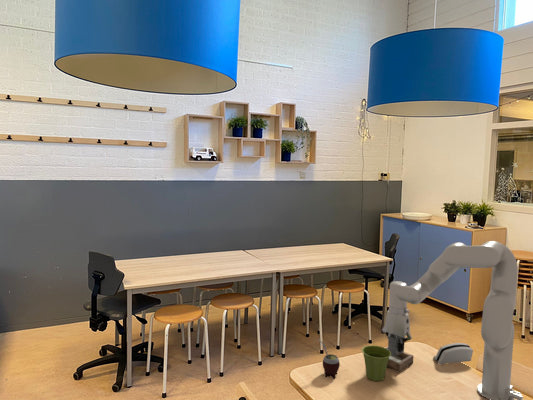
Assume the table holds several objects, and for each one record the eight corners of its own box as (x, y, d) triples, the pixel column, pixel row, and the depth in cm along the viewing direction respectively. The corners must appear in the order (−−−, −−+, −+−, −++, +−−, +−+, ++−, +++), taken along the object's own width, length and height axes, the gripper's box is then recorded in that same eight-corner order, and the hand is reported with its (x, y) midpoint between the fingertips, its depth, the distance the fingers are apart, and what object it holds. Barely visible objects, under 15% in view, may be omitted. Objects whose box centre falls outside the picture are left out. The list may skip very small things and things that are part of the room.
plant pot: (391, 386, 162) (392, 359, 161) (361, 382, 164) (362, 356, 163) (388, 371, 173) (389, 346, 172) (360, 368, 176) (361, 343, 175)
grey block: (403, 352, 181) (404, 334, 180) (396, 356, 176) (396, 339, 176) (391, 347, 185) (392, 330, 185) (383, 352, 181) (384, 335, 180)
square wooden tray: (413, 363, 181) (413, 355, 181) (399, 372, 172) (399, 364, 172) (388, 353, 190) (388, 346, 190) (374, 362, 181) (374, 354, 181)
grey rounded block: (463, 355, 189) (469, 339, 185) (470, 363, 184) (476, 347, 180) (432, 359, 185) (437, 342, 181) (438, 367, 181) (443, 350, 177)
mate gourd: (342, 377, 168) (343, 342, 167) (327, 381, 165) (328, 346, 164) (331, 369, 175) (332, 335, 174) (316, 373, 171) (317, 339, 170)
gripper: (419, 312, 175) (417, 353, 177) (385, 302, 187) (383, 340, 189) (411, 316, 170) (409, 358, 171) (376, 306, 182) (375, 345, 183)
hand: (396, 348), depth 180 cm, fingers closed on grey block, 4 cm apart
